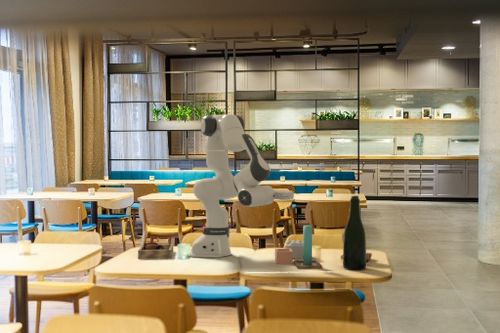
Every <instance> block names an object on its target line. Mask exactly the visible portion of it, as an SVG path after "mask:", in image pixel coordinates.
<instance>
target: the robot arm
mask: <svg viewBox="0 0 500 333" xmlns="http://www.w3.org/2000/svg"><path fill="white" fill-rule="evenodd" d="M200 131H201V133H202V134H203V135H204V136H206V137H207V138H206V146H205V149H206V150H205V154H206V156H205V157H206V158H205V160H206V162H205V163H206V167H207V168H208V169H209V170H210V171H212V172H214V174H215V177H207V178H202V179H201V178H200V179H198V180H196V181H195V182H194V184H193V187H192V189H193V195H194V196H195V198H196V199H197V200H199V201H200V202H201V204H202V205H203V207H204V210H205V215H206V216H205V217H206V219H205V220H206V226H202V227H201V230H202V234H201V235H200V236H199V237H197V238H196V239H195V240H194V241H193V242H192V244H191V249H190V251H191V252H190V256H188V257H193V258H221V257H228V256H231V255H232V251H231V246H230V239H229V238H230V226H229V212H228V210H227V209H226V208H225V207H223V206H221V204H220V200H230V199H234V198H236V197H237V200H238V202H239V203H240V204H241V205H242V206H244V207H247V208H248V207H249V208H252V207H259V206H268V205H271V204H273V203H274V201H275V200H279V201H280V200H281V201H288V200H294V196H295V193H294V191H293V190H278V189H274V188H273V187H272V186H271V185H259V184H260V183H261V182H264V181H265V180H266V179H267V178H269V177H270V174H271V173H270V172H271V168H270V165H269V163H268V162H267V161H266V159H265V158H264V156H263V154H262V153H261V151H260V149H259V147H258V146H257V143H256V142H255V140H254V139H253V137H252V136H251V135H250V134H249V133H246V132H245V121H244V119H243V117H242V116H240V115H236V114H234V113H233V114H232V113H227V114H215V115H211V114H209V115H205V116H203V117H202V118H201V120H200ZM229 151H230V152H233V153H235V152H236V153H239V152H242V151H246V152H247V155H248V158H250V161H249V163H248V164H247V165H245V167H243V168H242V169H240V171H238V172H237V173H235V175H233V174H232V171H231V169H230V165H229Z"/></svg>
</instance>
